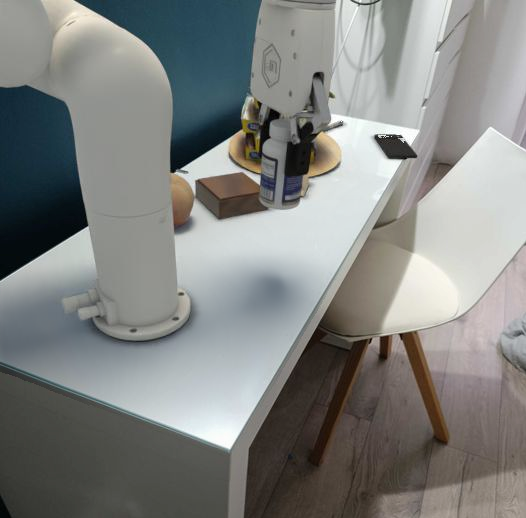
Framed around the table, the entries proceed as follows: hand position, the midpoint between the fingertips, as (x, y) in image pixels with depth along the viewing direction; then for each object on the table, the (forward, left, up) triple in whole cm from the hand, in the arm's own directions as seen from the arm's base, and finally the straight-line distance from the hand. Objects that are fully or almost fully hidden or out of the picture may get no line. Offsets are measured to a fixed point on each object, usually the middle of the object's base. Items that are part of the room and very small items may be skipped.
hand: (282, 164), depth 62 cm
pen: (+50, +55, -16) cm, 76 cm away
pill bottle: (0, 0, -5) cm, 5 cm away
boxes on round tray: (+32, +41, -20) cm, 56 cm away
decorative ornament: (+22, +27, -17) cm, 39 cm away
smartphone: (+54, +31, -16) cm, 64 cm away
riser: (+6, +26, -17) cm, 32 cm away
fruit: (-7, +23, -17) cm, 29 cm away
